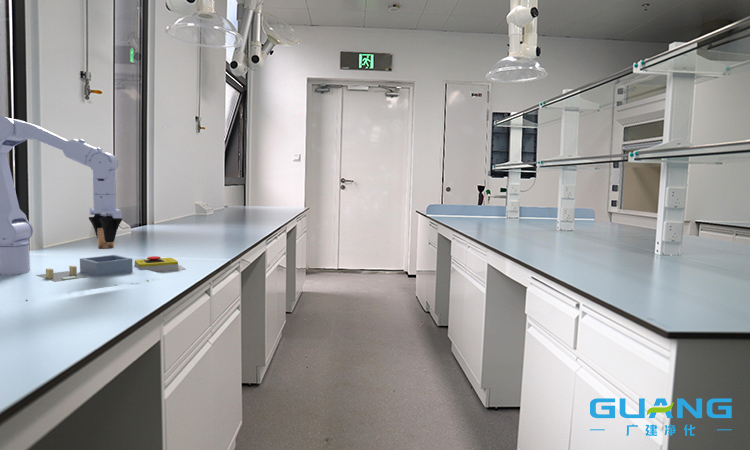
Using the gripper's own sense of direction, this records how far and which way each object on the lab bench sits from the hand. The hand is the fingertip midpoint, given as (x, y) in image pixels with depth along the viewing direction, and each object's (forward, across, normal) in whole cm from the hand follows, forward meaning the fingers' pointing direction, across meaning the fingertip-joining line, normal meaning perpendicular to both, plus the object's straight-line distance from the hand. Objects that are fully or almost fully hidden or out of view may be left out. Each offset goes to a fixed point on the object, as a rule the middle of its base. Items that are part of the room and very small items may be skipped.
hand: (105, 241), depth 137 cm
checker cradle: (+10, +2, +11) cm, 15 cm away
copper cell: (+2, 0, 0) cm, 2 cm away
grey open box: (+10, 0, 0) cm, 10 cm away
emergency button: (+11, -1, -15) cm, 19 cm away
